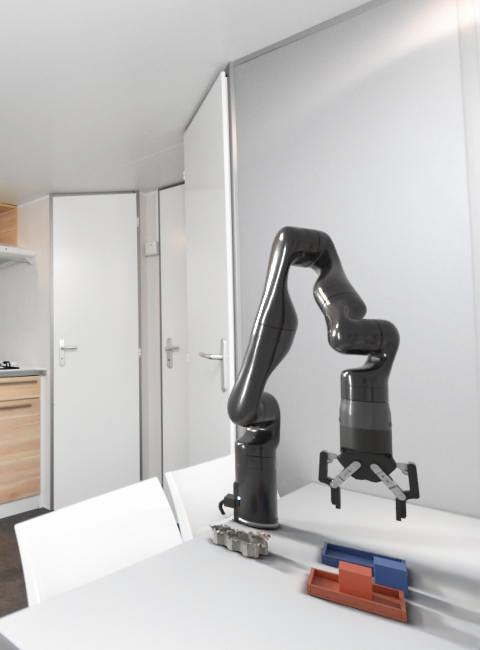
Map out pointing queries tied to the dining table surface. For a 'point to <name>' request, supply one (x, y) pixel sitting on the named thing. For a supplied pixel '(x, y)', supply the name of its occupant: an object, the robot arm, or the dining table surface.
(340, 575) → the terracotta block
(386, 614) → the terracotta tray
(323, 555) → the blue tray
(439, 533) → the dining table surface
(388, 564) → the blue block
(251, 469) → the robot arm
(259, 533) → the egg carton
